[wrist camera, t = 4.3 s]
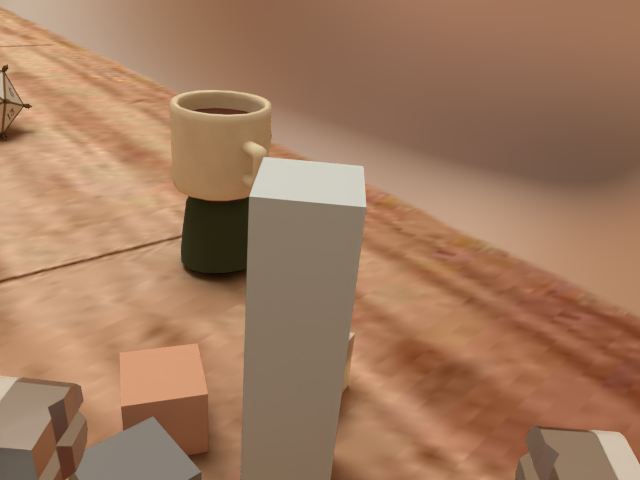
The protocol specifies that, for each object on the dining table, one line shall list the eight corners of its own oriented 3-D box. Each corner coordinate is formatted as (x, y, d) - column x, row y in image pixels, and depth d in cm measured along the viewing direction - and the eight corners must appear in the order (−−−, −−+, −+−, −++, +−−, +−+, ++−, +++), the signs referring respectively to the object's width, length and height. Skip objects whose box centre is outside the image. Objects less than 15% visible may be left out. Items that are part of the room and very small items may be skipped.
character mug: (297, 280, 46) (309, 116, 40) (217, 308, 42) (217, 129, 36) (223, 225, 53) (225, 80, 47) (149, 244, 49) (140, 87, 43)
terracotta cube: (126, 467, 29) (121, 406, 27) (125, 410, 33) (119, 352, 31) (208, 452, 31) (208, 394, 29) (198, 399, 34) (197, 343, 32)
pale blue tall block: (325, 520, 27) (366, 207, 20) (239, 512, 27) (249, 196, 20) (327, 453, 31) (363, 166, 24) (251, 446, 31) (263, 156, 24)
